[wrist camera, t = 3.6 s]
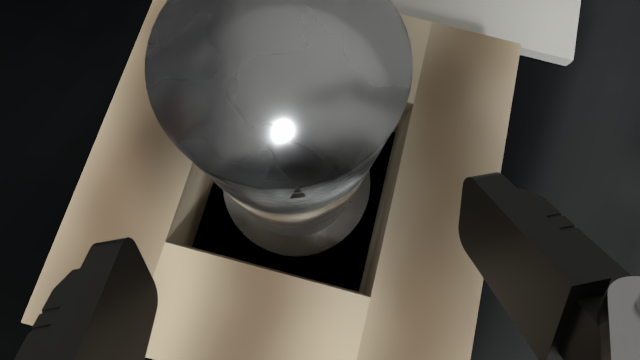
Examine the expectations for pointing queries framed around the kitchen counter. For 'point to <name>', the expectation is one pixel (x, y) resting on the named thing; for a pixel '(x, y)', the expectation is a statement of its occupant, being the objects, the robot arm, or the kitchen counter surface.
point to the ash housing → (288, 289)
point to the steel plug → (282, 107)
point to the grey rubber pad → (508, 22)
